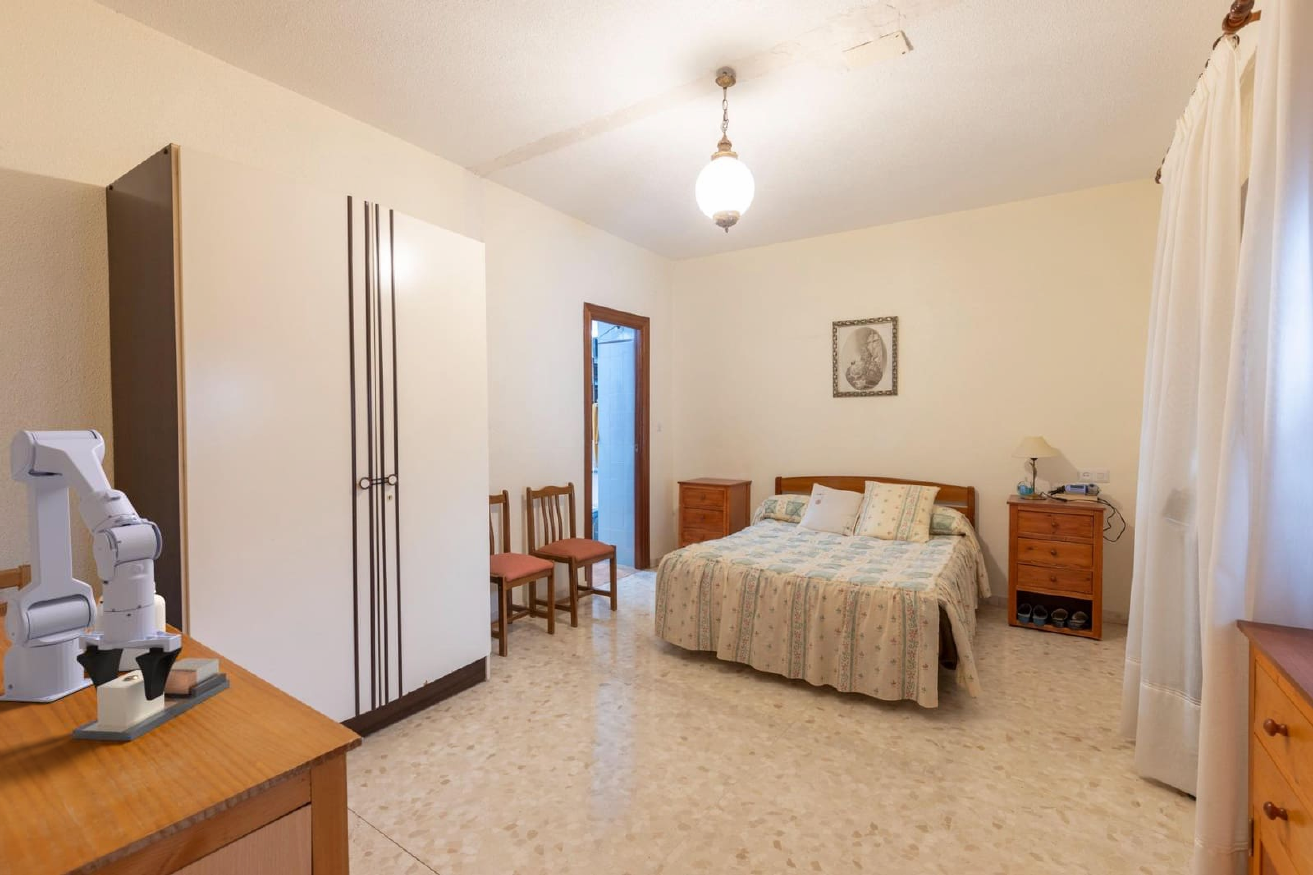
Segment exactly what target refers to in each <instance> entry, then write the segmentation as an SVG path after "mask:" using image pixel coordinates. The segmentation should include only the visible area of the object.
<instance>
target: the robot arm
mask: <svg viewBox="0 0 1313 875" xmlns="http://www.w3.org/2000/svg"><path fill="white" fill-rule="evenodd" d="M11 439H12V440H11V442H10V443H9V458H10V459H9V461H10V462H9V463H10V464H9V465H10V474H11V475H12V476H11V477H12V478H11V479H12V481H15V482H19V483H23V484H25V490H26V493H27V513H28V535H29V536H28V537H29V538H28V539H29V556H30V577H31V579H30V581H29V583H28V584H26V585H25V586H24V587H22V588H21V589H20V590H17V591H16V592H15V593H13V594H12V595H11V596H10V597H9V598H8V599H7V600H8V601H7V603H6V604H7V608H6V609H7V610H6V614H5V617H4V630H5V634H6V637H7V639H8V640H9V641H10V643H12V645H11V646H10V647H9V649H8V650H7V651H6V653H5V655H4V658H3V661H2V662H3V663H2V664H3V688H4V689H3V692H4V694H3V695H1V696H0V701H8V702H11V701H12V702H31V703H32V702H34V703H37V702H39V703H50V702H54V701H56V700H58V699H62V698H63V697H65V696H68V695H70V694H73V693H75V692H77V691H80V690H83V689H85V688H87V687H90V686H92V685H93V687H94V688H95V691H96V693H97V687H98V686H101V685H103V684H105V683H108V682H110V681H112V680H114V679H117V678H119V672H120V671H119V665H120V660H121V656H122V653H123V650H124V649H149V652H147V653H145V654H142V655H140V656H138V657H136V658H135V660H136V662H137V663H138V665H139V667H140V669H139V670H141V672H142V675H143V680H144V690H145V697H146V700H147V701H151V700H154V699H156V698H158V697H160V696H162V695H163V693H164V689H165V685H166V682H167V678H168V675H169V673H170V670H171V668H172V666H173V664H174V663H176V660H177V658H179V657H178V656H179V655H180V653H181V652H182V650H183V646H182V634H179V633H178V634H176V633H172V632H171V633H170V632H163V631H159V630H155V609H154V594H155V593H154V582H155V573H154V572H155V571H154V570H155V569H154V568H155V567H154V560H157V559H158V558H159V557H160V556H161V552H162V548H163V539H162V534H161V531H160V529H159V527H158V524H156V523H155V522H154V521H149V520H148V519H147V518H141V517H140V516H139V514H138V513H137V511H136V509H135V507H134V506H133V505H132V504H131V502H130V500H129V498H128V497H127V495H126V493H125V492H123V491H121V490H117V489H112V487H111V485H110V482H109V480H108V478H107V475H106V473H105V471H104V469H103V466H102V463H103V460H104V457H105V453H106V444H105V440H104V438H103V436H102V435H101V434H100V432H98V431H97V430H96V429H87V430H28V429H27V430H25V429H24V430H23V429H20V430H19V431H18V432H16V434H14V435H13V437H12V438H11ZM69 486H71V488H72V489H73V490H74V492H75V493H76V494H77V496H78V497H79V498H80V499H81V501H80V502H79V504H78V506H77V511H78V514H79V515H80V517H81V519H82V520H83V522H84V524H85V525H86V527H87V529H88V531H89V533H90V534H91V536H92V537H93V543H92V554H93V558H94V561H95V563H96V568H97V570H96V571H97V572H96V573H97V576H98V577H97V578H98V579H100V580H101V581H102V595H103V625H104V632H94V631H93V632H90V631H89V632H90V633H89V632H88V629H90V627H91V626H93V623H94V622H95V620H96V617H97V607H96V606H97V604H96V601H95V598H94V594H93V593H94V592H93V588H92V586H91V585H90V584H88V583H86V582H84V581H82V580H78V579H76V578H73V562H72V561H73V560H72V543H71V542H72V541H71V540H72V537H71V518H70V516H71V515H70V498H69V496H70V495H69V494H70V492H69ZM84 671H85V672H86V673H87V675H88V676H89V677H85V674H84Z"/></svg>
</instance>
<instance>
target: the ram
mask: <svg viewBox="0 0 1313 875" xmlns="http://www.w3.org/2000/svg"><path fill="white" fill-rule="evenodd" d="M219 660H220V659H219V658H199V657H197V658H196V657H195V658H194V657H185V658H182V659H180V660H178V661H175V662H174V664H173V666H172V668H171V670H170V673H169V675H168V678H167V682H166V685H165V689H164V693H176V694H189V693H191V689H192V688H194V687H196V686H198V685H200V684H201V683H203V682H205V681H207V680H209V679H211V678H213V677H215V676H217V675H219V674H220V669H219V668H220V666H219V664H220V663H219V662H220V661H219Z"/></svg>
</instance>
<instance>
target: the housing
mask: <svg viewBox="0 0 1313 875" xmlns="http://www.w3.org/2000/svg"><path fill="white" fill-rule="evenodd" d="M96 698H97V700H96V701H97V702H96V705H97V718H98V725H116V726H128V725H130V724H131V723H133V722H135V721H137V720H139V719H141V718H143V717H145V716H147V715H149V714H150V713H152V712H154V711H156V710H158V709H160V708H162V707H164V693H163V695H162V696H160V697H158V698H156V699H154V700H151V701H147V700H146V697H145V690H144V680H143V675H142V672H141V669H136V670H132V671H131V672H128V673H126V674H124V675H121V676H118V678H117V679H114V680H112V681H110V682H108V683H105V684H103V685H101V686H98V687H97V692H96Z"/></svg>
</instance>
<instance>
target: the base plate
mask: <svg viewBox="0 0 1313 875" xmlns="http://www.w3.org/2000/svg"><path fill="white" fill-rule="evenodd" d="M230 684H231V680H230V679H227V672H221V673H219V675H217V676H215V677H213V678H211V679H209V680H207V681H205V682H203V683H201V684H200V685H198V686H196V687H194V688H192V689H191V693H189V694H176V693H164V707H162V708H160V709H158V710H156V711H154V712H152V713H150V714H149V715H147V716H145V717H143V718H141V719H139V720H137V721H135V722H133V723H131V724H130V725H128V726H116V725H98V717H97V718H95V719H93V720H91V721H89V722H87V723H85V724H83V725H80V726H78V727H76V728H74V729H72V739H76V740H97V741H100V740H101V741H116V742H117V741H118V742H119V741H120V742H121V741H122V742H132V741H134V740H136V739H138V738H139V737H142V736H143V735H145V734H147V733H148V732H150V731H152V730H154V729H156V728H157V727H159V726H161V725H163V724H165V723H166V722H169V721H170V720H172V719H173V718H174V719H175V718H176V717H178V716H179V715H181V714H183V713H184V711H185V712H186V710H187V711H188V710H190V709H192V708H194V707H196V706H197V705H200V704H201V703H202V701H203V702H204V700H205V701H206V700H209V699H210V698H212V697H214V696H215V695H217V694H219V693H221V692H223V691H225V690H226V689H228V688H230V686H231V685H230ZM220 691H221V692H220ZM195 705H196V706H195ZM178 714H179V715H178ZM177 715H178V716H177ZM175 716H176V717H175Z"/></svg>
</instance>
